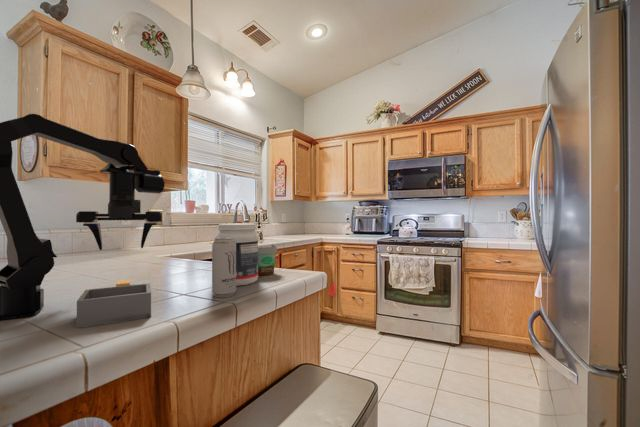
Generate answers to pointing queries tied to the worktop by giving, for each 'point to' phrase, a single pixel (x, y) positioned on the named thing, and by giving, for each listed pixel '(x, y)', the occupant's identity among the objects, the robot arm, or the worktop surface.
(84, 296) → the parts tub
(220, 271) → the energy drink can
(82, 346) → the worktop surface
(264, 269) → the food container
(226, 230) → the supplement tub
